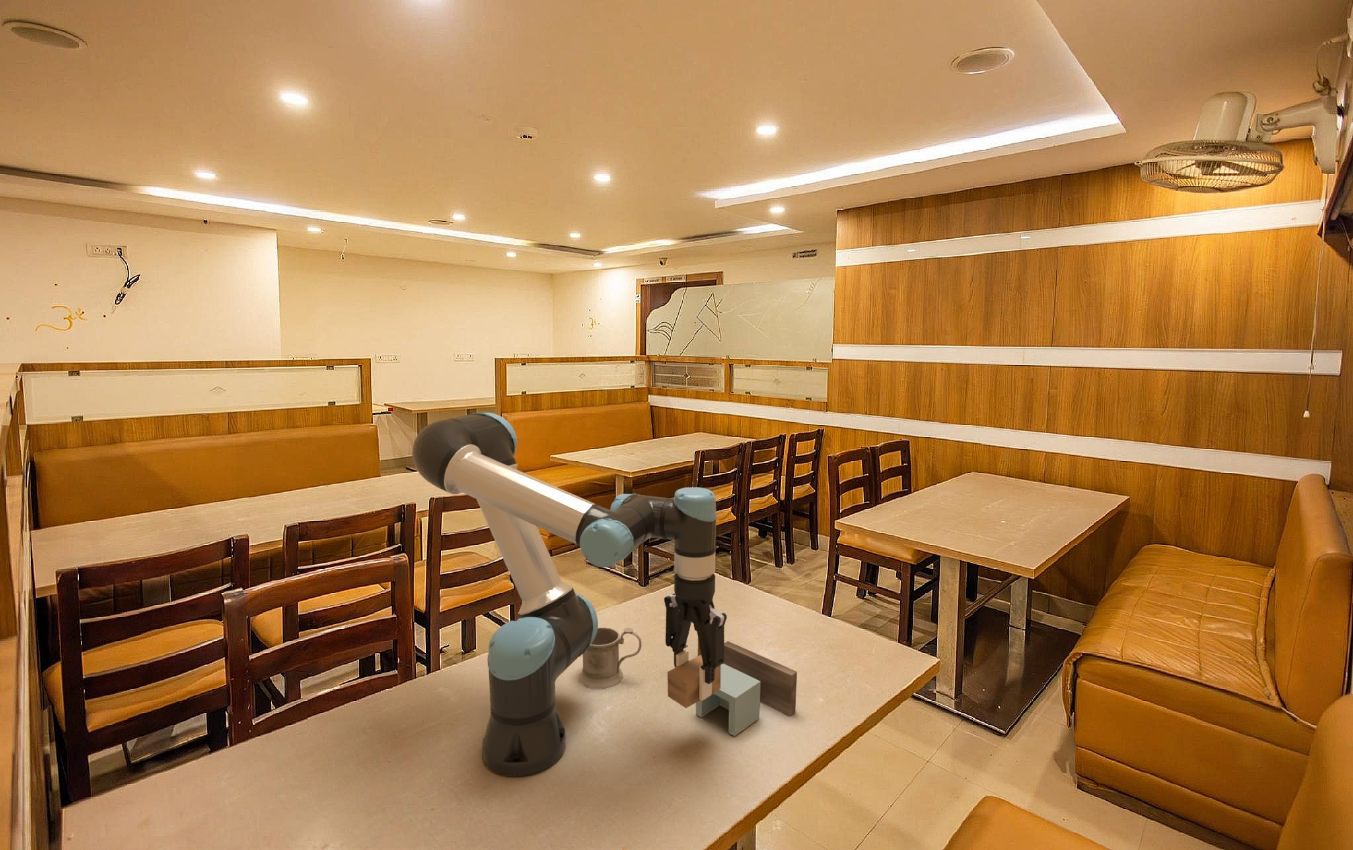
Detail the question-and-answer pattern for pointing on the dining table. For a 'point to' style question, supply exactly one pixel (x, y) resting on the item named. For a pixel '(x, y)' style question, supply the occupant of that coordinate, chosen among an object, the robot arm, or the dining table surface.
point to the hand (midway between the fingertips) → (693, 690)
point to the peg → (689, 682)
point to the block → (734, 699)
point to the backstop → (765, 677)
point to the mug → (604, 659)
